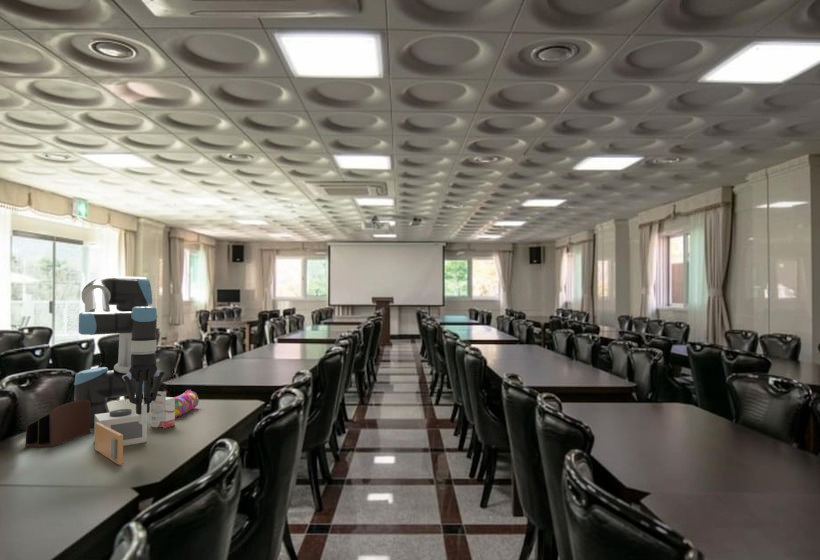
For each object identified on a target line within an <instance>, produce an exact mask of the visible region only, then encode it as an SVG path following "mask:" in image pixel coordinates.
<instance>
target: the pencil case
mask: <svg viewBox="0 0 820 560" xmlns="http://www.w3.org/2000/svg"><path fill="white" fill-rule="evenodd" d="M173 398H175V417H176V418H178V417H177V416H179V417H181V416H182V414H183V415H185V414H186V413H188V412H190V411H192V410H194V409H195V408H196V407H197V406H198V405H199V402H200V400H199V396H198V394H197V392H195V391H192V389H186V390H185V392H183V393H182V394H180V395H177V396H174V397H173ZM193 408H194V409H193Z"/></svg>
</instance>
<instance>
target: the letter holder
mask: <svg viewBox="0 0 820 560" xmlns="http://www.w3.org/2000/svg"><path fill="white" fill-rule="evenodd" d="M90 412H91V411H90V401H89V400H80V401H71V402H67V403H64V404H62V405H59V406H57V407H55V408H53V409H51V410H50V412H49V413H48V414H45V415H43V416H41V417H39V419H37V420H35V421H33V422H30V423H29V424H28V425H27V426H26V429H25V448H53V447H55V446H56V447H57V446H58V444H59V445H61V444H64V443H66V441H67V442H69V441H72V440H75V439H77V438H80V437H82V435H83V436H85V434H86V435H88V434H90V433H91V428H90ZM74 438H75V439H74ZM63 442H64V443H63Z"/></svg>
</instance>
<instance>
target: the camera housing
mask: <svg viewBox="0 0 820 560" xmlns="http://www.w3.org/2000/svg"><path fill="white" fill-rule="evenodd" d="M97 422H99V423H101V424H103V425H105V426H107V427H109V428H111V429H113V430H115V431H117V432H119V433H120V434H122V435H123V447H125V446H130V445H137V444H141V443H147V442H148V441H147V438H148V437H147V434H148V429H147V428H148V423H147V424H140V423H139V415H138V414H136V408H135V409H134V408H133V409H130V408H129V409H128V408H124V409H123V408H122V409H116V410H115V409H114V410H111V411H110V413H102V414H95V420H94V428H93V430H94V431H93V432H94V433H93V437H94V438H93V442H94V443H95V423H97Z"/></svg>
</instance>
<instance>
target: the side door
mask: <svg viewBox="0 0 820 560" xmlns="http://www.w3.org/2000/svg"><path fill="white" fill-rule="evenodd" d="M94 450H95V451H97V452H98V453H100V454H101V455H102V456H104V457H106V458H107V459H109V460H111V461H112V462H114V463H115V464H117V465H123V464H124V461H123V460H124V446H123V435H122V434H120V433H119V432H117V431H115V430H113V429H111V428H109V427H107V426H105V425H103V424H101V423H99V422H97V423H95V442H94Z"/></svg>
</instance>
